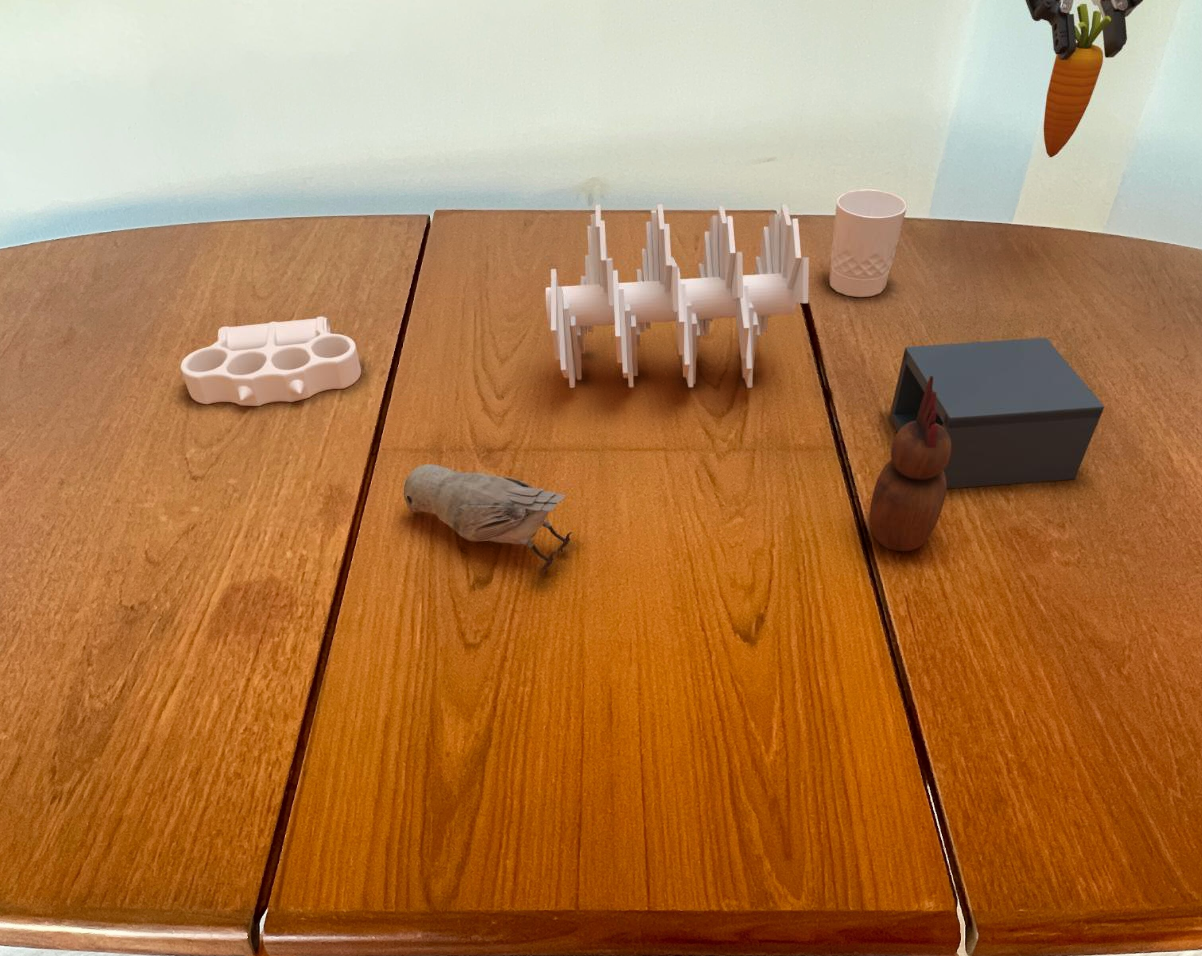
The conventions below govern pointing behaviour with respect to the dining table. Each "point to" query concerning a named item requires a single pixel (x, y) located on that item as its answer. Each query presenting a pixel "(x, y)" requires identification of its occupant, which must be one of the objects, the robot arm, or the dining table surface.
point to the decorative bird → (483, 505)
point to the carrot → (1073, 83)
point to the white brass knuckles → (271, 363)
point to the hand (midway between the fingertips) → (1091, 53)
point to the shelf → (1001, 409)
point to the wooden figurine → (912, 481)
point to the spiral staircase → (679, 293)
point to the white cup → (865, 241)
